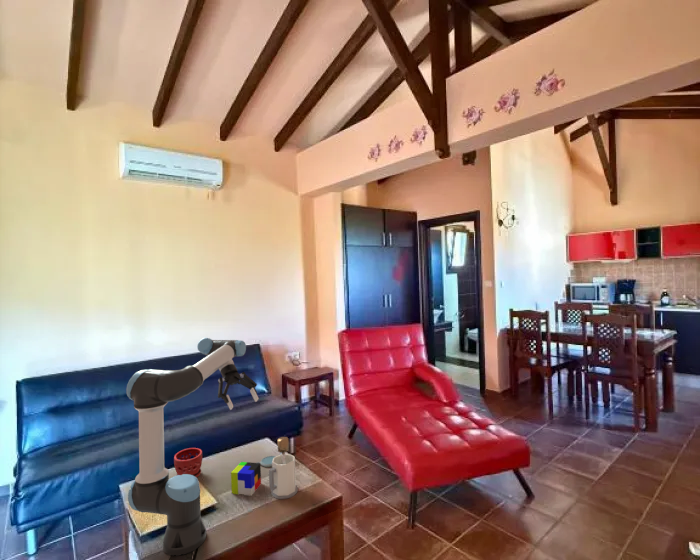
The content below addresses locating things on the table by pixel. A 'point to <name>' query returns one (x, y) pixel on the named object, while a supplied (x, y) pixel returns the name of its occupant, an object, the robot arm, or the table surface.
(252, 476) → the puzzle toy
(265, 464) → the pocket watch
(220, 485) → the table surface
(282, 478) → the jug
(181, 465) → the plant pot
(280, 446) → the plunger
